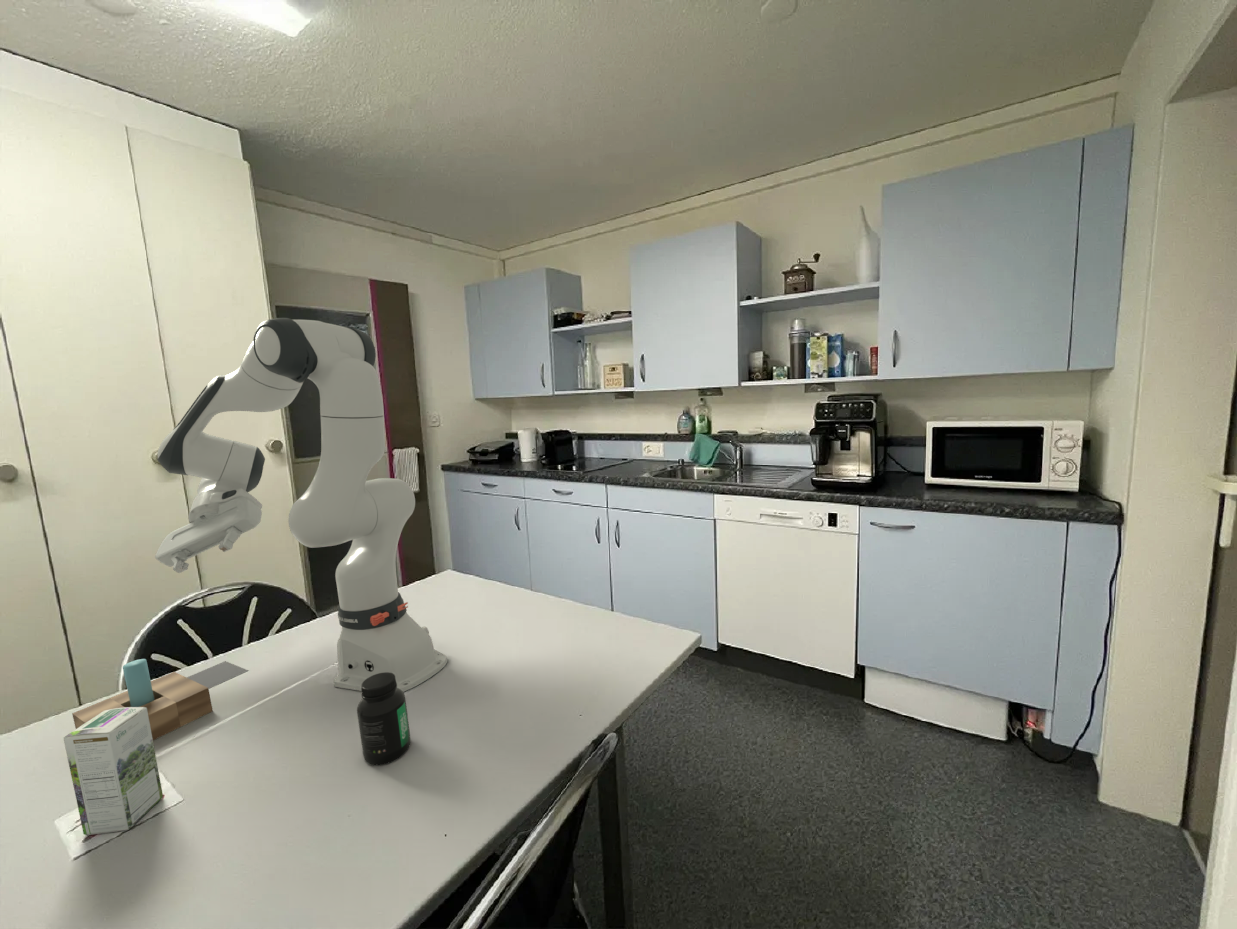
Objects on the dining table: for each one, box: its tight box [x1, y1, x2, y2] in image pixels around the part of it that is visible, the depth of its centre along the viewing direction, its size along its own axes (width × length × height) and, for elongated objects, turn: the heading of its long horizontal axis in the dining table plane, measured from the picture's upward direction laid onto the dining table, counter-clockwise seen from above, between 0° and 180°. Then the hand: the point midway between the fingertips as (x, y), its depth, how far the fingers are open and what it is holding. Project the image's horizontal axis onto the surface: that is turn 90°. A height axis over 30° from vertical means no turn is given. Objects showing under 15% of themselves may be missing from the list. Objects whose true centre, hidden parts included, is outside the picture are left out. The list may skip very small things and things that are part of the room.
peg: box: [122, 658, 154, 707], centre depth 88 cm, size 3×3×12 cm
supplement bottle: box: [356, 672, 412, 766], centre depth 77 cm, size 7×7×12 cm
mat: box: [186, 660, 250, 689], centre depth 103 cm, size 10×10×1 cm
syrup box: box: [63, 707, 164, 836], centre depth 67 cm, size 6×6×14 cm
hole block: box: [72, 671, 214, 741], centre depth 88 cm, size 14×14×5 cm
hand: (202, 559), depth 101 cm, fingers open, 8 cm apart
